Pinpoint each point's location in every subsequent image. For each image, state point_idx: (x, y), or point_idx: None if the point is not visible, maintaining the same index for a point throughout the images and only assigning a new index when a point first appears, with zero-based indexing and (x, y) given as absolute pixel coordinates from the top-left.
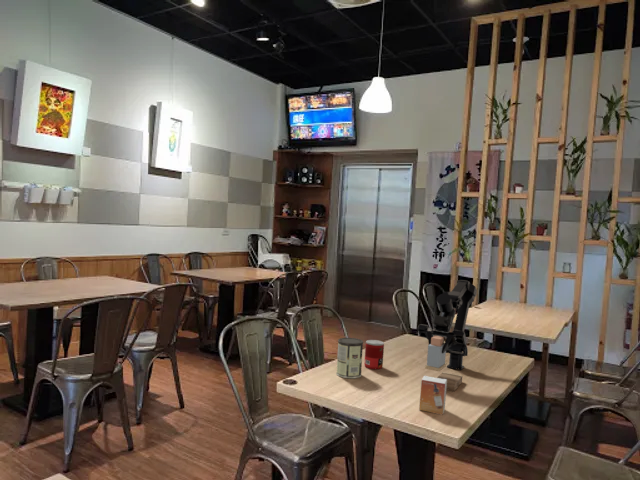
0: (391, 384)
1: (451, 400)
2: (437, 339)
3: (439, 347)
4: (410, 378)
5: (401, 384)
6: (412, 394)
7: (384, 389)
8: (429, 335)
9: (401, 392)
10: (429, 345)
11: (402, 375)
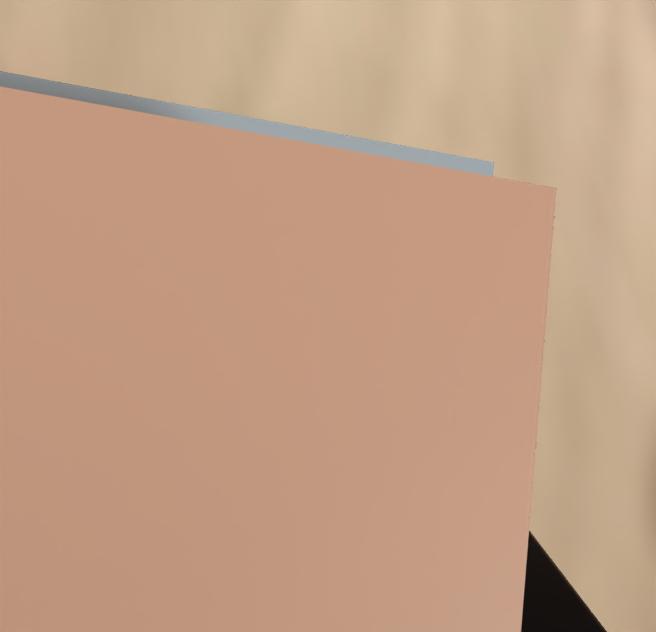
0: (638, 184)
1: (7, 21)
2: (46, 119)
3: (20, 80)
4: (533, 509)
5: (556, 238)
6: (386, 6)
7: (643, 13)
8: None
9: (489, 10)
10: (439, 159)
11: (642, 571)
